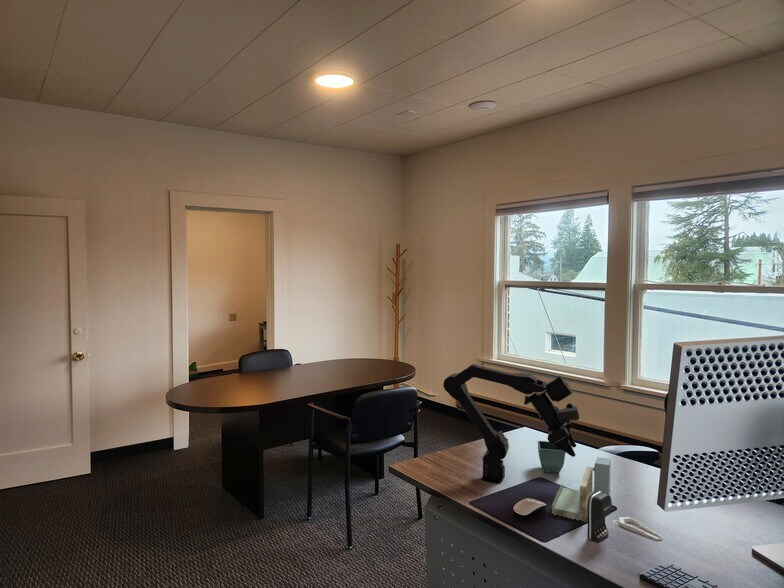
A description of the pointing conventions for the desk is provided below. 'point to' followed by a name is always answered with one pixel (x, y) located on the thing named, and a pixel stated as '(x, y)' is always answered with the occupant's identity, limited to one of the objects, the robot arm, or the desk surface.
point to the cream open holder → (574, 499)
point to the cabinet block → (602, 475)
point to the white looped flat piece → (632, 528)
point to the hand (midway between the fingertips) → (574, 451)
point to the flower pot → (550, 457)
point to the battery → (598, 515)
